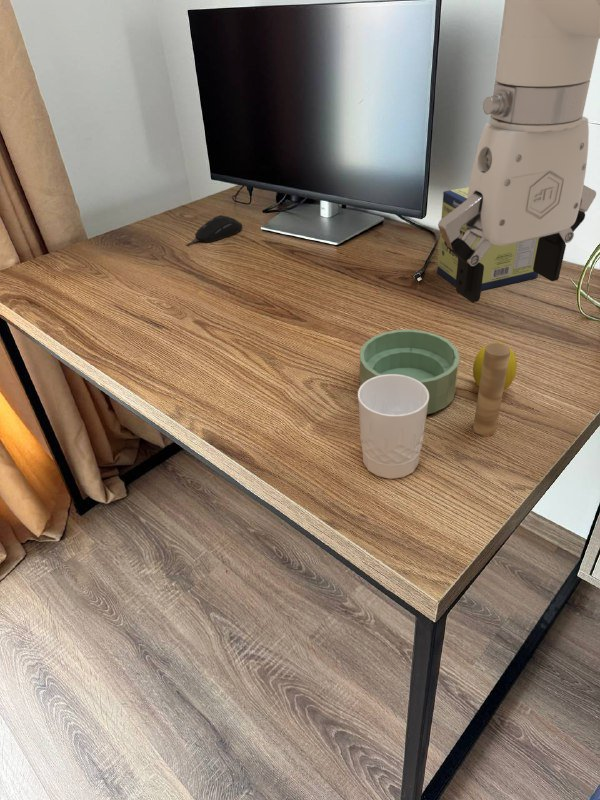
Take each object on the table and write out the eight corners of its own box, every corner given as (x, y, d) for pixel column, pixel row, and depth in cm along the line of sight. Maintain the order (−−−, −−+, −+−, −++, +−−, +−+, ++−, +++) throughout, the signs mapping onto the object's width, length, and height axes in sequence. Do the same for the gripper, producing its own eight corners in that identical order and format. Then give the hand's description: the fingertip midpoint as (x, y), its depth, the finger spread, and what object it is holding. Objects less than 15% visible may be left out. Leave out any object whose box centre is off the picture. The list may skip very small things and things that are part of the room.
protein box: (435, 272, 112) (441, 190, 103) (505, 257, 116) (517, 176, 106) (465, 295, 104) (475, 208, 95) (539, 278, 108) (556, 192, 98)
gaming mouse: (179, 242, 133) (176, 225, 130) (232, 224, 140) (230, 207, 138) (194, 249, 129) (191, 232, 126) (248, 230, 136) (246, 213, 134)
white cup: (428, 444, 73) (434, 379, 67) (417, 488, 67) (422, 421, 61) (366, 434, 75) (367, 369, 69) (350, 475, 69) (349, 409, 64)
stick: (489, 420, 76) (502, 341, 69) (500, 433, 74) (515, 353, 67) (469, 424, 76) (480, 345, 68) (479, 438, 73) (492, 357, 66)
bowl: (430, 357, 89) (433, 322, 85) (472, 408, 78) (477, 370, 75) (347, 374, 87) (347, 339, 83) (379, 428, 76) (380, 391, 73)
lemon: (516, 387, 81) (526, 337, 77) (504, 409, 78) (513, 358, 73) (477, 377, 84) (484, 328, 79) (463, 397, 80) (470, 347, 75)
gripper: (479, 126, 45) (456, 321, 55) (650, 97, 50) (600, 282, 60) (426, 110, 51) (414, 290, 61) (584, 85, 55) (549, 256, 66)
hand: (506, 286), depth 60 cm, fingers open, 9 cm apart
